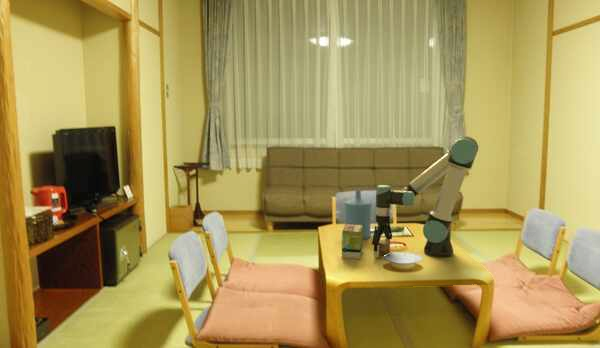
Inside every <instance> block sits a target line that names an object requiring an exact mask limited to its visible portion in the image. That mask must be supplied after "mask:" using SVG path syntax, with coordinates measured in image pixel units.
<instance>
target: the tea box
mask: <svg viewBox="0 0 600 348" xmlns="http://www.w3.org/2000/svg"><path fill="white" fill-rule="evenodd" d="M341 235H342V237H341V240H342V241H341V258H344V259H356V260H358V259H359V260H360V259H361V256H362V253H363V245H364V243H363V240H364V239H363V225H350V224H345V223H344V227H343V229H342V233H341Z"/></svg>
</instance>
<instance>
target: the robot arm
mask: <svg viewBox="0 0 600 348" xmlns="http://www.w3.org/2000/svg"><path fill="white" fill-rule="evenodd" d="M478 152H479V144H478V143H477V141H476V140H475V139H474V138H472V137H470V136H462V137H460V138H458V139H456V140H455V141H454V142H453V144H451V147H450V148H449V149H447V153H446V154H445V155H443V156H441V157H440V158H439V159H438V160H437V161H435V162H434V163H433V164H431V166H429V167H428V168H427V169H425V170H424V171H423V172H422V173H420V174H419V175H418V176H417V177H415V178H414V179H412V180H411V182H409V183H407V184H406V185H405V186H403V187H402V188H401V189H400V190H396V189H392V186H391V185H387V184H379V185H377V186H376V191H375V222H376V223H377V225H375V226H374V230H373V235H372V238H371V240H372V241H371V245H373V257H374V258H379V257H380V256H379V245H378V244H379V241H380V240H381V239H382V235H383V234H384V237H385V238H384V240H386V241H390V242H391V240H392V239H393V233H392V227H391V205H396V206H405V207H410V206H411V207H413V205H414V203H415V197H417V196H418V195H419V194H420V193H422V192H423V191H424V190H426V189H427V188H428V187H429V186H430V185H432V184H434V182H436V181H437V180H439V179H441V177H443V176H444V175H445V177H444V180H443V183H442V185H441V189H440V191H439V194H438V196H437V200H436V203H435V206H434V208H433V210H429V211H428V214H427V218H426V222H425V224H424V225H423V227H422V234H423V236H424V237H425V239H426V243H425V244H424V246H423V247H424V248H423V253H424V254H425V255H427V256H430V257H433V258H434V257H435V258H448V257H452V256H454V248H453V244H452V241H451V238H452V236H451V235H452V234H451V233H452V222H453V217H452V213H453V211H454V207H455V204H456V202H457V199H458V196H459V193H460V191H461V188H462V185H463V182H464V180H465V176H466V175H467V174H466V173H467V171H469V170H472V167H473V164H474V161H475V159H476V157H477V154H478Z"/></svg>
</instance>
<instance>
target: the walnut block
mask: <svg viewBox="0 0 600 348" xmlns="http://www.w3.org/2000/svg"><path fill="white" fill-rule="evenodd" d="M378 245H379V257H383V256H384V255H386V254H388V253H391V240H390V241H386V240H385V239H380V241H379V244H378Z"/></svg>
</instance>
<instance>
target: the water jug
mask: <svg viewBox="0 0 600 348" xmlns="http://www.w3.org/2000/svg"><path fill="white" fill-rule="evenodd" d="M361 192H362V190H360V189H357V190H355V194H354V195H355V197H353V198H350V199H349V200H345V202H344V204H345V205H344V225H345V224H350V225H363V240H364V239H365V240H366V239H369V238H370V237H371V235H372V232H371V223H372V221H371V220H372V219H371V218H372V217H371V216H372V215H371V213H372V203H371V201H369V200H367V199H365V198H363V197H362V196H361V195H362V194H361Z"/></svg>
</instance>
